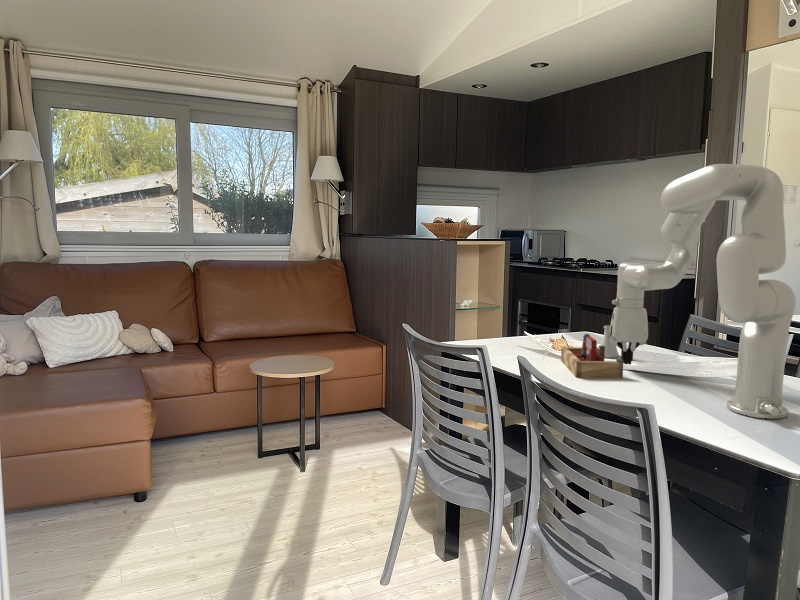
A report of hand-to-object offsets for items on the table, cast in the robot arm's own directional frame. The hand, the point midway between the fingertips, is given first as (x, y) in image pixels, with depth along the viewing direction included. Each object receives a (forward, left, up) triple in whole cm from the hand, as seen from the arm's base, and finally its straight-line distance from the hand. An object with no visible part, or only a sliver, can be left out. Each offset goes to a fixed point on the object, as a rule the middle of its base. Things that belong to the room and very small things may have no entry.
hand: (626, 363), depth 177 cm
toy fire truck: (+1, +11, -2) cm, 11 cm away
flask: (+17, +1, -2) cm, 17 cm away
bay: (0, +11, -2) cm, 11 cm away
